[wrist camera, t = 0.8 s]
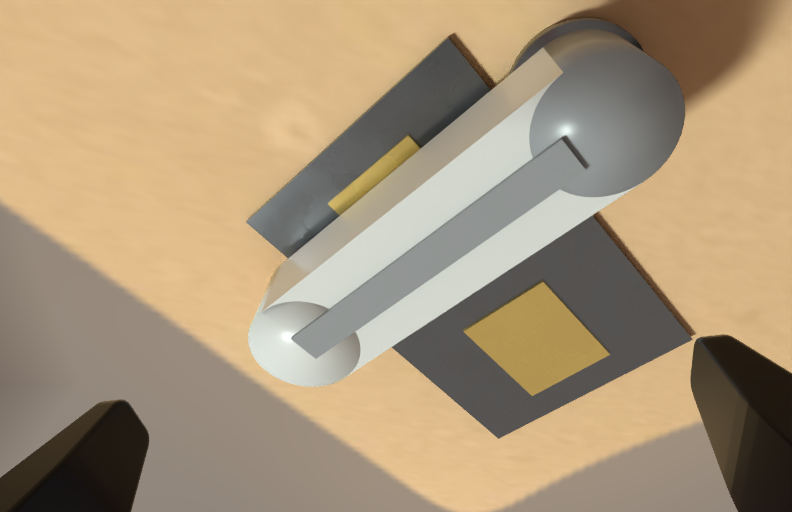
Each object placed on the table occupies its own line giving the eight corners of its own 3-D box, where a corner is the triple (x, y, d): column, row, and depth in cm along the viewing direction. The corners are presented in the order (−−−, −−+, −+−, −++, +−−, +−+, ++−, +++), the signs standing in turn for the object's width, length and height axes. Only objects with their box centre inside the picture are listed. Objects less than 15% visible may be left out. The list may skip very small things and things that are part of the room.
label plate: (793, 283, 21) (800, 291, 21) (498, 435, 27) (499, 443, 26) (563, -69, 15) (566, -68, 15) (247, 219, 21) (243, 226, 21)
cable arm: (670, 102, 17) (714, 138, 14) (321, 348, 23) (307, 404, 21) (602, -2, 16) (637, 16, 13) (249, 291, 22) (224, 343, 19)
